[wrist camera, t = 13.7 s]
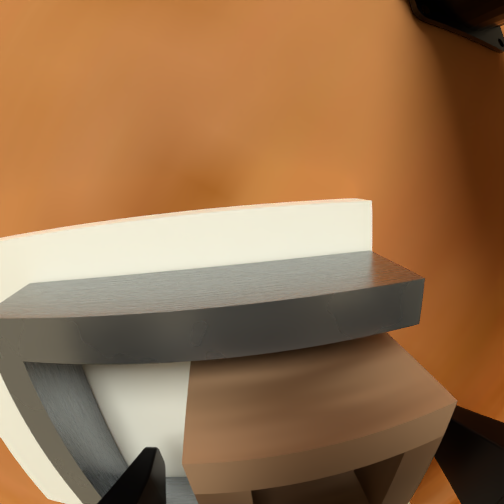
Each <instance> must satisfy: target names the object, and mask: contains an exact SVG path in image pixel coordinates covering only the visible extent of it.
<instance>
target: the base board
mask: <svg viewBox="0 0 504 504" xmlns="http://www.w3.org/2000/svg"><path fill="white" fill-rule="evenodd" d="M368 250H370V251H372V201H370V200H364V199H357V198H350V199H330V200H313V201H297V202H283V203H269V204H256V205H244V206H233V207H222V208H212V209H201V210H192V211H182V212H173V213H164V214H156V215H147V216H139V217H131V218H123V219H116V220H108V221H101V222H94V223H87V224H80V225H74V226H67V227H61V228H54V229H48V230H42V231H36V232H30V233H25V234H19V235H13V236H8V237H2V238H0V303H1V302H2V301H4V300H5V299H7V298H8V297H10V296H11V295H13V294H14V293H16V292H17V291H19V290H20V289H22V288H23V287H25V286H26V285H28V284H29V283H38V282H50V281H62V280H74V279H86V278H97V277H109V276H120V275H131V274H142V273H152V272H163V271H174V270H184V269H195V268H205V267H215V266H225V265H235V264H245V263H255V262H265V261H275V260H284V259H294V258H303V257H313V256H322V255H331V254H341V253H350V252H359V251H368ZM190 363H191V361H187V362H171V363H150V364H81V365H82V367H83V370H84V373H85V375H86V378H87V381H88V383H89V386H90V388H91V391H92V393H93V396H94V398H95V400H96V403H97V405H98V407H99V410H100V412H101V414H102V416H103V419H104V421H105V423H106V425H107V427H108V429H109V431H110V433H111V435H112V437H113V439H114V441H115V443H116V445H117V447H118V449H119V451H120V453H121V455H122V457H123V459H124V460H125V462H126V464H127V466H128V467H129V466H130V465H131V463H132V462H133V461H134V460H135V459H136V457H137V456H138V455H139V454H140V453H141V451H142V450H143V449H144V448H145V447H157V448H158V449H159V450H160V453H161V455H162V457H163V460H164V462H165V467H166V477H187V476H186V473H185V471H184V468H183V466H182V454H183V440H184V427H185V415H186V403H187V393H188V382H189V372H190ZM0 437H1V438H2V440H3V441H4V443H5V444H6V446H7V447H8V449H9V450H10V452H11V453H12V454H13V456H14V457H15V459H16V460H17V461H18V463H19V464H20V465H21V467H22V468H23V469H24V471H25V472H26V473H27V474H28V476H29V477H30V478H31V479H32V481H33V482H34V483H35V484H36V485H37V487H38V488H39V489H40V490H41V491H42V492H43V494H44V495H45V496H46V497H47V498H48V499H50V500H54V501H58V502H62V503H66V504H83V503H82V502H81V501H80V500H79V498H78V497H77V496H76V495H75V494H74V492H73V491H72V490H71V489H70V487H69V486H68V485H67V484H66V482H65V481H64V480H63V478H62V477H61V476H60V474H59V473H58V472H57V470H56V469H55V468H54V466H53V465H52V463H51V462H50V461H49V459H48V458H47V456H46V455H45V453H44V452H43V450H42V449H41V447H40V446H39V444H38V443H37V441H36V439H35V438H34V436H33V435H32V433H31V431H30V430H29V428H28V426H27V425H26V423H25V421H24V419H23V418H22V416H21V414H20V412H19V410H18V409H17V407H16V405H15V403H14V401H13V399H12V397H11V395H10V393H9V391H8V389H7V387H6V385H5V383H4V381H3V379H2V376H1V374H0Z"/></svg>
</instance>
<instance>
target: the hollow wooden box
mask: <svg viewBox="0 0 504 504" xmlns="http://www.w3.org/2000/svg"><path fill="white" fill-rule="evenodd" d="M456 404H457V400H456V399H455V398H454V397H453V396H452V395H451V394H450V393H449V392H448V391H447V390H446V389H445V388H444V387H443V386H442V385H441V384H440V383H439V382H438V381H437V380H436V379H435V378H434V377H433V376H432V375H431V374H430V373H429V372H428V371H427V370H426V369H425V368H424V367H422V366H421V365H420V364H419V363H418V362H417V361H416V360H415V359H414V358H413V357H412V356H411V355H410V354H409V353H408V352H407V351H406V350H405V349H404V348H403V347H402V346H400V345H399V344H398V343H397V342H396V341H395V340H394V339H393V338H392V337H391V336H390V335H389V334H388V333H387V332H384V333H379V334H375V335H370V336H366V337H361V338H356V339H351V340H346V341H341V342H336V343H330V344H325V345H319V346H313V347H307V348H301V349H295V350H288V351H281V352H274V353H266V354H259V355H251V356H242V357H233V358H223V359H212V360H200V361H191V363H190V372H189V382H188V393H187V403H186V415H185V427H184V440H183V454H182V466H183V468H184V471H185V473H186V476H187V478H188V481H189V483H190V486H191V488H192V490H193V493H194V495H195V497H196V499H197V502H198V504H408V503H409V501H410V499H411V498H412V496H413V494H414V493H415V491H416V489H417V487H418V486H419V484H420V482H421V480H422V478H423V477H424V475H425V473H426V471H427V469H428V467H429V465H430V463H431V461H432V459H433V457H434V455H435V453H436V451H437V449H438V447H439V445H440V442H441V440H442V438H443V436H444V433H445V431H446V429H447V426H448V424H449V422H450V419H451V417H452V414H453V412H454V409H455V406H456Z"/></svg>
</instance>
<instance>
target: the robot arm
mask: <svg viewBox="0 0 504 504" xmlns="http://www.w3.org/2000/svg"><path fill="white" fill-rule="evenodd" d="M409 2H410V5H411V8H412V11H413V13H414V14H415V16H416V17H417V18H418V19H420V20H421V21H423V22H426V23H429V24H432V25H435V26H438V27H441V28H443V29H446V30H449V31H451V32H454V33H456V34H459V35H461V36H464V37H466V38H468V39H471V40H473V41H475V42H477V43H480V44H482V45H484V46H486V47H488V48H490V49H492V50H494V51H496V52H498V53H502V52H504V37H503V34H502V31H501V28H500V26H502V25H504V0H409ZM434 457H435V458H436V460H437V462H438V464H439V465H440V467H441V469H442V470H443V472H444V474H445V476H446V477H447V479H448V481H449V483H450V484H451V486H452V488H453V490H454V492H455V493H456V495H457V497H458V499H459V500H460V502H461V504H504V423H503V422H500V421H497V420H495V419H492V418H489V417H486V416H483V415H481V414H478V413H475V412H473V411H470V410H467V409H465V408H462V407H459V406H457V405H456V406H455V409H454V412H453V414H452V417H451V419H450V422H449V424H448V426H447V429H446V431H445V433H444V436H443V438H442V440H441V442H440V445H439V447H438V449H437V451H436V453H435V455H434ZM97 504H166V467H165V462H164V460H163V457H162V455H161V453H160V450H159V449H158V448H157V447H145V448H144V449H143V450H142V451H141V453H140V454H139V455H138V456H137V457H136V459H135V460H134V461H133V462H132V463H131V465H130V466H129V467H128V468H127V469H126V470H125V472H124V473H123V474H122V475H121V476H120V478H119V479H118V480H117V481H116V482H115V483H114V485H113V486H112V487H111V488H110V489H109V490H108V491H107V493H106V494H105V495H104V496H103V497H102V498H101V500H100V501H99V502H98V503H97Z"/></svg>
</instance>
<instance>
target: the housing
mask: <svg viewBox="0 0 504 504" xmlns="http://www.w3.org/2000/svg"><path fill="white" fill-rule="evenodd" d="M424 280H425V278H423V277H421V276H419V275H417V274H416V273H414V272H412V271H410V270H408V269H406V268H404V267H402V266H400V265H398V264H396V263H394V262H392V261H390V260H388V259H386V258H384V257H382V256H380V255H378V254H376V253H374V252H372V251H370V250H368V251H359V252H350V253H341V254H331V255H322V256H313V257H303V258H294V259H284V260H275V261H265V262H255V263H245V264H235V265H225V266H215V267H205V268H195V269H184V270H174V271H163V272H152V273H142V274H131V275H120V276H109V277H97V278H86V279H74V280H62V281H50V282H38V283H29V284H28V285H26V286H25V287H23V288H22V289H20V290H19V291H17V292H16V293H14V294H13V295H11V296H10V297H8V298H7V299H5V300H4V301H2V302H1V303H0V374H1V376H2V379H3V381H4V383H5V385H6V387H7V389H8V391H9V393H10V395H11V397H12V399H13V401H14V403H15V405H16V407H17V409H18V410H19V412H20V414H21V416H22V418H23V419H24V421H25V423H26V425H27V426H28V428H29V430H30V431H31V433H32V435H33V436H34V438H35V439H36V441H37V443H38V444H39V446H40V447H41V449H42V450H43V452H44V453H45V455H46V456H47V458H48V459H49V461H50V462H51V463H52V465H53V466H54V468H55V469H56V470H57V472H58V473H59V474H60V476H61V477H62V478H63V480H64V481H65V482H66V484H67V485H68V486H69V487H70V489H71V490H72V491H73V492H74V494H75V495H76V496H77V497H78V498H79V500H80V501H81V502H82V503H83V504H97V503H98V502H99V501H100V500H101V498H102V497H103V496H104V495H105V494H106V493H107V491H108V490H109V489H110V488H111V487H112V486H113V485H114V483H115V482H116V481H117V480H118V479H119V478H120V476H121V475H122V474H123V473H124V472H125V470H126V469H127V468H128V466H127V464H126V462H125V460H124V459H123V457H122V455H121V453H120V451H119V449H118V447H117V445H116V443H115V441H114V439H113V437H112V435H111V433H110V431H109V429H108V427H107V425H106V423H105V421H104V419H103V416H102V414H101V412H100V410H99V407H98V405H97V403H96V400H95V398H94V396H93V393H92V391H91V388H90V386H89V383H88V381H87V378H86V375H85V373H84V370H83V367H82V365H81V364H150V363H171V362H187V361H200V360H212V359H223V358H233V357H242V356H251V355H259V354H266V353H274V352H281V351H288V350H295V349H301V348H307V347H313V346H319V345H325V344H330V343H336V342H341V341H346V340H351V339H356V338H361V337H366V336H370V335H375V334H379V333H384V332H388V331H392V330H397V329H401V328H405V327H409V326H413V325H417V324H419V321H420V314H421V307H422V299H423V290H424ZM166 504H198V502H197V499H196V497H195V495H194V493H193V490H192V488H191V486H190V483H189V481H188V478H187V477H166Z"/></svg>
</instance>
